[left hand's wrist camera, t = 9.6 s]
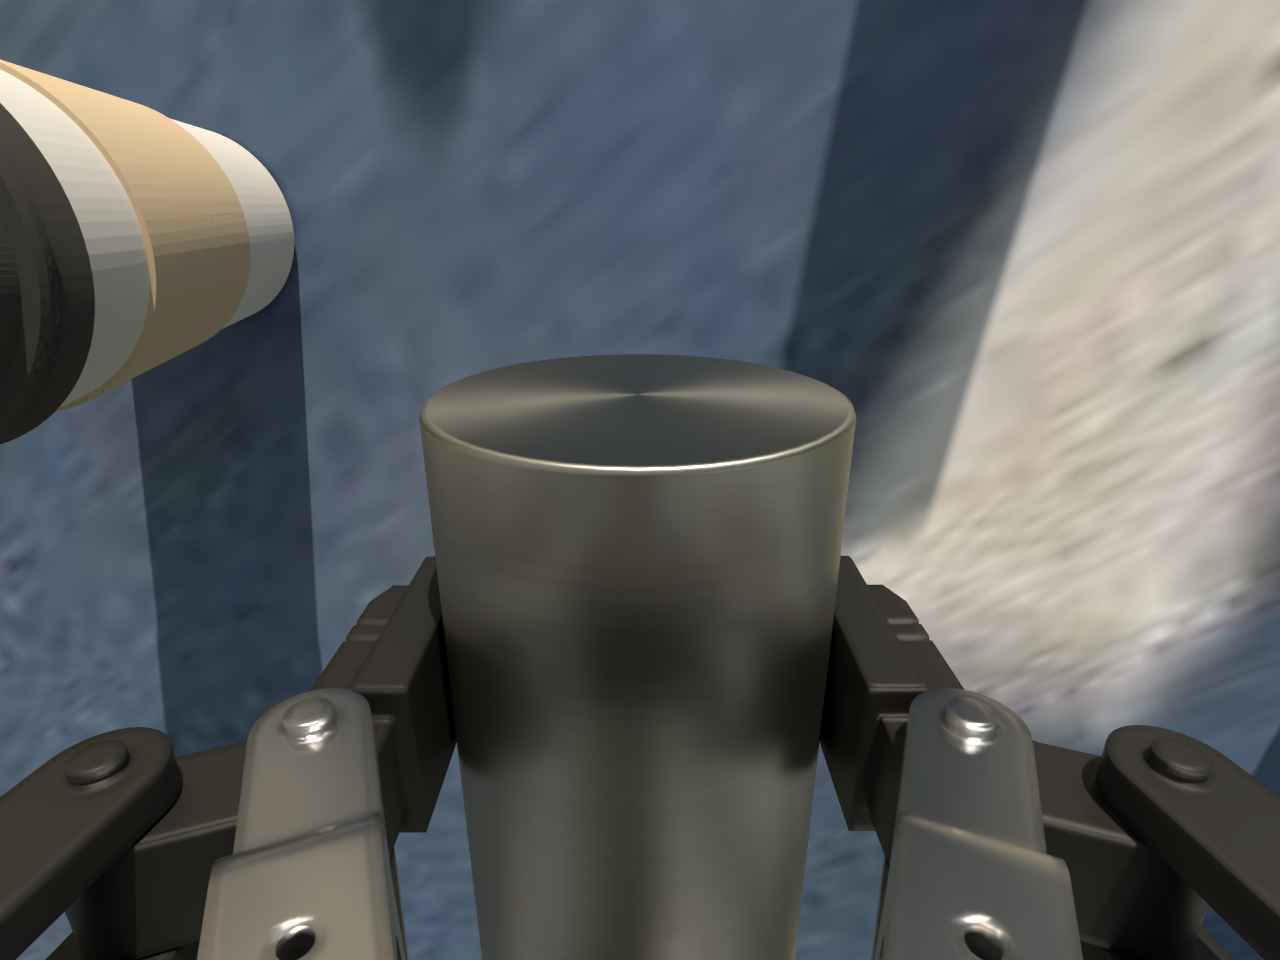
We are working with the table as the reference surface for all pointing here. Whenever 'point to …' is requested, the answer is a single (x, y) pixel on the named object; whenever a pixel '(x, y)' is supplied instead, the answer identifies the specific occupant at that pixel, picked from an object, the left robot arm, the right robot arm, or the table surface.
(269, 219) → the coffee cup
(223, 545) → the table surface
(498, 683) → the rod
